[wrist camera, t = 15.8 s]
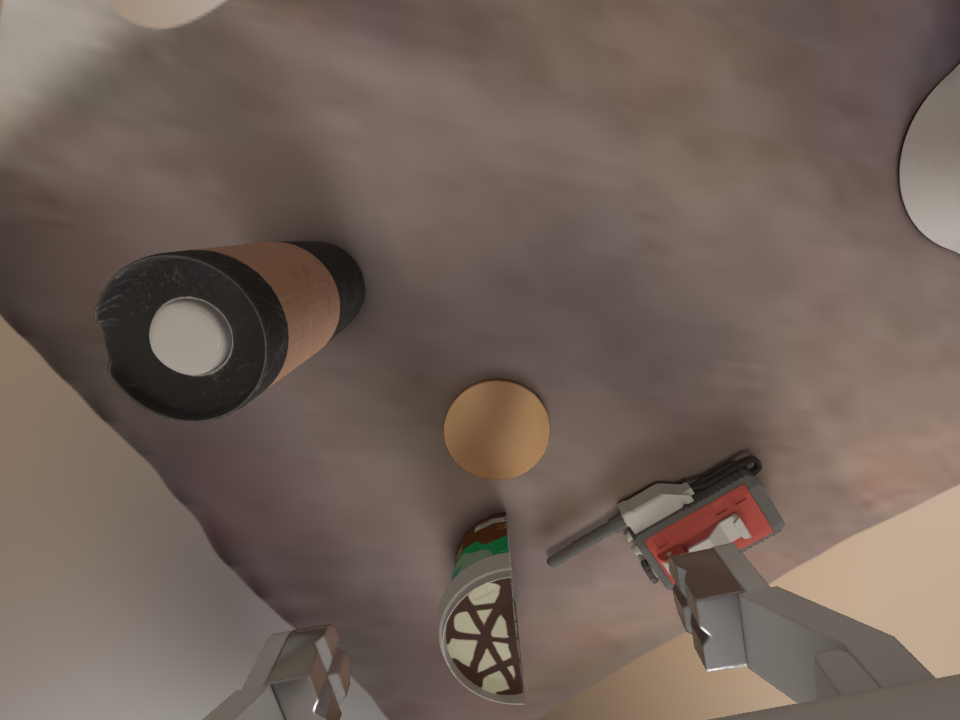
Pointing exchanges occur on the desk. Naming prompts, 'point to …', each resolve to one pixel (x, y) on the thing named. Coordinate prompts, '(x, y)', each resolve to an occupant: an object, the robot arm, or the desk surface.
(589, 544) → the walkie-talkie
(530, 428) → the cork coaster
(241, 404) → the travel mug
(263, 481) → the desk surface
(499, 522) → the food container
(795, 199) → the desk surface
